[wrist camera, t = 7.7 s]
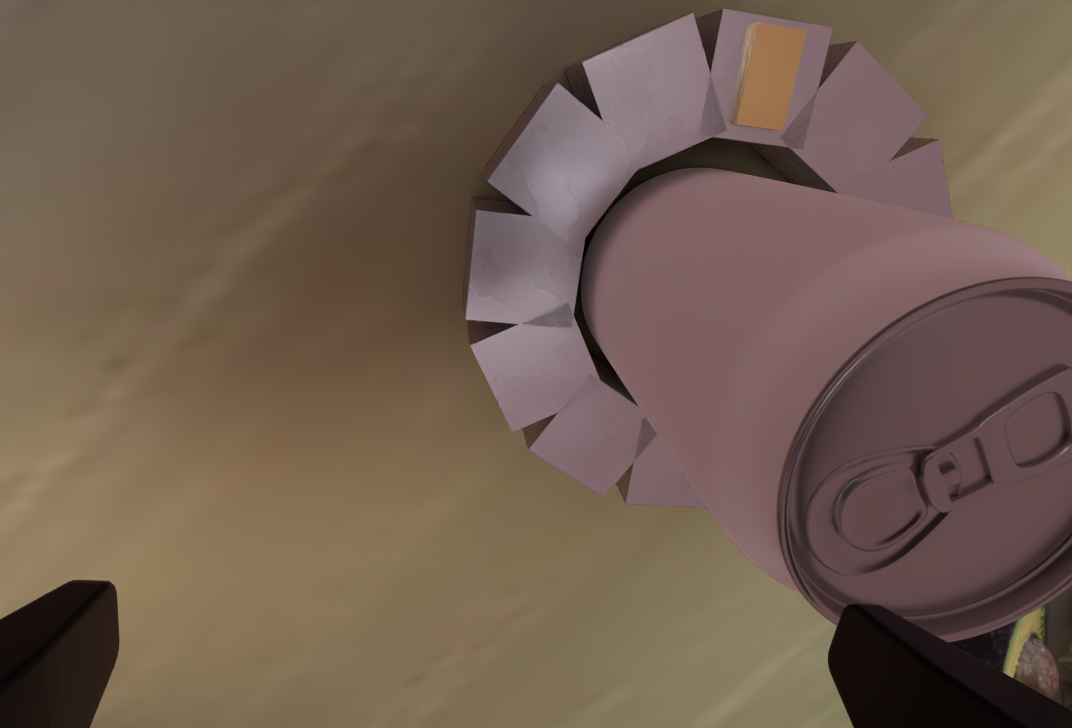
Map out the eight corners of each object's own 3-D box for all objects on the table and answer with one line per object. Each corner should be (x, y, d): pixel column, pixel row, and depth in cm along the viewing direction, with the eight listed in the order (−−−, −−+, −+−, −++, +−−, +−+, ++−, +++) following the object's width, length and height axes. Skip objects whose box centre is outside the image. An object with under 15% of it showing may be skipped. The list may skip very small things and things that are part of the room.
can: (537, 238, 19) (669, 413, 8) (739, 121, 19) (1165, 139, 8) (634, 415, 22) (839, 736, 11) (816, 313, 21) (1227, 537, 10)
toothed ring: (827, 474, 24) (876, 520, 21) (447, 454, 21) (448, 501, 19) (952, 66, 19) (1032, 59, 17) (491, -11, 17) (501, -33, 14)
